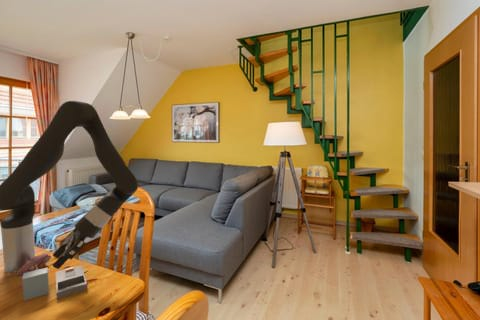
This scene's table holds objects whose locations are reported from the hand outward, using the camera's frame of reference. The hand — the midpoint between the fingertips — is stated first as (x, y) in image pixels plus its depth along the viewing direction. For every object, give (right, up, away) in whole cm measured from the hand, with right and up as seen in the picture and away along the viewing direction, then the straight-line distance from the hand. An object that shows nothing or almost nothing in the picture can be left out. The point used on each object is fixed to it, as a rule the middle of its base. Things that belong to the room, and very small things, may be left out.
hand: (55, 261), depth 80 cm
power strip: (+3, -10, +4) cm, 11 cm away
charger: (-4, -11, -2) cm, 12 cm away
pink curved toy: (-19, -10, +15) cm, 26 cm away
